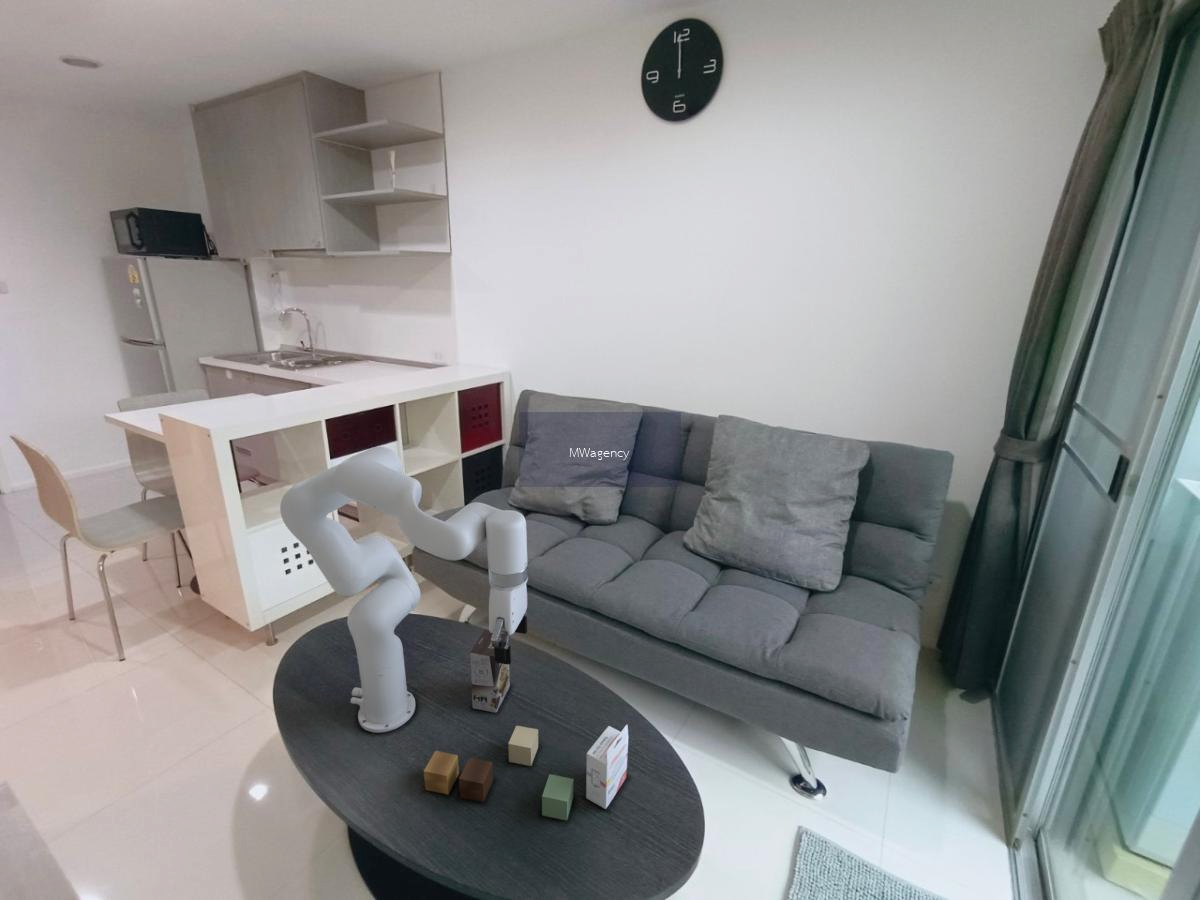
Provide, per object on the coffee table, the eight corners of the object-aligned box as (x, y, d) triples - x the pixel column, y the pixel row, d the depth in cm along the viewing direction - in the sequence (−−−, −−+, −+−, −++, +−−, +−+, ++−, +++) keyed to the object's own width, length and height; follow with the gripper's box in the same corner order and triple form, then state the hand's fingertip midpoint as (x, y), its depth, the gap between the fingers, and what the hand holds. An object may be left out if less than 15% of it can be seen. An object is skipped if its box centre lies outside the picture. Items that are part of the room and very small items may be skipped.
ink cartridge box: (606, 767, 117) (609, 712, 112) (626, 778, 114) (630, 723, 110) (584, 798, 110) (586, 741, 105) (605, 811, 107) (608, 753, 103)
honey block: (425, 789, 111) (423, 771, 109) (437, 768, 115) (435, 750, 114) (448, 794, 110) (446, 776, 108) (459, 773, 114) (458, 755, 113)
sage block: (541, 815, 106) (541, 796, 105) (549, 792, 111) (549, 773, 109) (567, 820, 105) (567, 801, 104) (573, 797, 110) (573, 778, 108)
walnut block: (460, 797, 109) (458, 778, 108) (470, 775, 114) (469, 757, 112) (483, 802, 108) (482, 783, 107) (493, 780, 113) (492, 762, 111)
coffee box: (497, 713, 130) (495, 657, 125) (471, 708, 131) (468, 652, 126) (510, 686, 138) (509, 632, 133) (486, 681, 140) (484, 628, 134)
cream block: (508, 761, 117) (508, 743, 116) (516, 742, 122) (516, 725, 120) (531, 766, 117) (530, 748, 115) (538, 747, 121) (538, 729, 120)
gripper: (505, 549, 115) (509, 619, 121) (471, 595, 99) (477, 673, 105) (540, 553, 114) (541, 623, 119) (511, 600, 98) (514, 679, 103)
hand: (511, 646), depth 112 cm, fingers open, 9 cm apart
